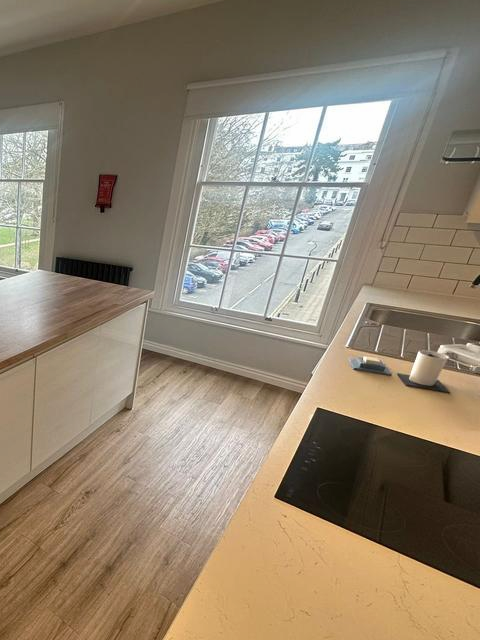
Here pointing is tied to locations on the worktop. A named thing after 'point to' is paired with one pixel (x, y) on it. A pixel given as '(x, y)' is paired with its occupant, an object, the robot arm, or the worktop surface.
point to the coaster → (436, 387)
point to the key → (371, 360)
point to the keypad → (369, 367)
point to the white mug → (427, 367)
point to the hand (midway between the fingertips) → (455, 362)
